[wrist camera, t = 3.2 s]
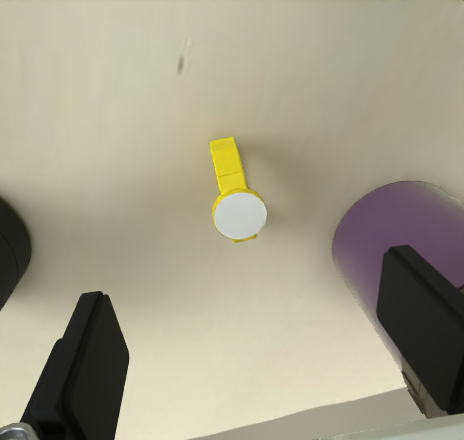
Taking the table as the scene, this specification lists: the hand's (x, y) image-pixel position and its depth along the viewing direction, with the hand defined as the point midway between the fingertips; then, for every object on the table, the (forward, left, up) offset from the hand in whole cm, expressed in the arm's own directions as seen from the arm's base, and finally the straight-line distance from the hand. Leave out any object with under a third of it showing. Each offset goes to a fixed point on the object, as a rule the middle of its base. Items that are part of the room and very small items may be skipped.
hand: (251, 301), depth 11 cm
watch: (0, 0, -12) cm, 12 cm away
